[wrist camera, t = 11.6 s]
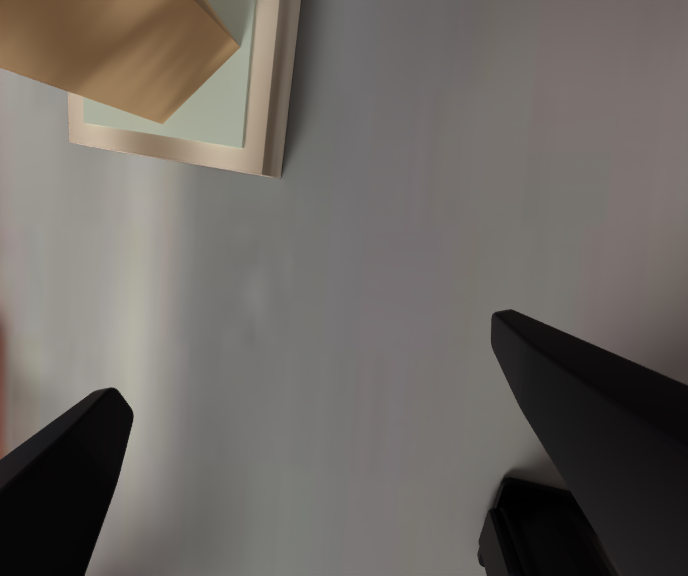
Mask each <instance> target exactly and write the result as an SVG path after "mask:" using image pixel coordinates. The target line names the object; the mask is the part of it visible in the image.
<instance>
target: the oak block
mask: <svg viewBox="0 0 688 576" xmlns="http://www.w3.org/2000/svg"><path fill="white" fill-rule="evenodd" d="M239 48H240V46H239V45H238V44H237V42H236V41H235V39H234V38H233V36H232V35H231V34H230V32H229V31H228V29H227V28H226V26H225V25H224V24H223V22H222V21H221V19H220V18H219V17H218V15H217V14H216V12H215V11H214V9H213V8H212V7H211V5H210V4H209V2H208V1H207V0H0V68H3V69H5V70H8V71H11V72H14V73H17V74H20V75H23V76H25V77H28V78H31V79H34V80H37V81H40V82H43V83H45V84H48V85H51V86H54V87H57V88H60V89H63V90H65V91H68V92H71V93H74V94H77V95H80V96H83V97H85V98H88V99H91V100H94V101H97V102H100V103H103V104H105V105H108V106H111V107H114V108H117V109H120V110H123V111H125V112H128V113H131V114H134V115H137V116H140V117H143V118H145V119H148V120H151V121H154V122H157V123H160V124H163V123H164V122H165V121H166V120H167V119H168V118H169V117H170V116H171V115H172V114H173V113H174V112H175V111H176V110H177V109H178V108H179V107H180V106H181V105H182V104H183V103H185V102H186V101H187V100H188V99H189V98H190V97H191V96H192V95H193V94H194V93H195V92H196V91H197V90H198V89H199V88H200V87H201V86H202V85H203V84H204V83H205V82H206V81H207V80H208V79H209V78H210V77H211V76H212V75H213V74H214V73H215V72H216V71H217V70H218V69H219V68H220V67H221V66H222V65H223V64H224V63H225V62H226V61H227V60H228V59H229V58H230V57H231V56H232V55H233V54H234V53H235V52H236V51H237V50H238V49H239Z"/></svg>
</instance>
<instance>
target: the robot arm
mask: <svg viewBox="0 0 688 576" xmlns="http://www.w3.org/2000/svg"><path fill="white" fill-rule="evenodd" d="M491 345H492V348H493V351H494V353H495V355H496V358H497V360H498V362H499V364H500V366H501V368H502V370H503V373H504V375H505V377H506V379H507V381H508V383H509V386H510V388H511V390H512V392H513V394H514V396H515V398H516V400H517V402H518V404H519V406H520V408H521V410H522V412H523V414H524V415H525V417H526V419H527V420H528V422H529V424H530V425H531V427H532V429H533V430H534V432H535V433H536V435H537V437H538V438H539V440H540V442H541V443H542V445H543V447H544V448H545V450H546V452H547V453H548V455H549V456H550V458H551V460H552V461H553V463H554V465H555V466H556V468H557V470H558V471H559V473H560V474H561V476H562V478H563V479H564V481H565V483H566V484H567V486H568V488H569V489H570V491H571V492H569V491H565V490H561V489H556V488H552V487H548V486H544V485H540V484H535V483H531V482H527V481H523V480H519V479H514V478H505V479H504V480H502V482H501V484H500V487H499V490H498V493H497V496H496V499H495V502H494V505H493V508H491V509H490V510H489V511H488V513H487V516H486V519H485V523H484V526H483V529H482V532H481V535H480V538H479V545H480V548H479V551H478V555H477V556H478V560H479V563H480V565H481V566H483V567H485V570H486V574H487V576H688V385H686V384H683V383H681V382H679V381H676V380H674V379H672V378H669V377H667V376H665V375H662V374H660V373H658V372H655V371H653V370H651V369H649V368H646V367H644V366H642V365H639V364H637V363H635V362H632V361H630V360H628V359H625V358H623V357H621V356H618V355H616V354H614V353H612V352H609V351H607V350H605V349H602V348H600V347H598V346H595V345H593V344H591V343H588V342H586V341H584V340H581V339H579V338H577V337H575V336H572V335H570V334H568V333H565V332H563V331H561V330H558V329H556V328H554V327H551V326H549V325H547V324H544V323H542V322H540V321H538V320H535V319H533V318H531V317H528V316H526V315H524V314H521V313H519V312H517V311H514V310H511V309H509V310H503V311H498V312H495V313H494V314H493V315H492V319H491ZM133 417H134V416H133V411H132V409H131V407H130V406H129V405H128V403H127V402H126V400H125V399H124V398H123V396H122V395H121V393H120V392H119V391H118V390H117V389H115V388H112V387H110V388H105V389H100V390H96V391H94V392H92V393H91V394H89V395H88V396H87V397H85V398H84V399H83V400H81V401H80V402H79V403H77V404H76V405H74V406H73V407H72V408H70V409H69V410H68V411H66V412H65V413H64V414H62V415H61V416H59V417H58V418H57V419H55V420H54V421H53V422H51V423H50V424H48V425H47V426H46V427H44V428H43V429H42V430H40V431H39V432H38V433H36V434H35V435H33V436H32V437H31V438H29V439H28V440H27V441H25V442H24V443H23V444H21V445H20V446H18V447H17V448H16V449H14V450H13V451H12V452H10V453H9V454H8V455H6V456H5V457H3V458H2V459H1V460H0V576H85V573H86V570H87V567H88V564H89V562H90V559H91V556H92V553H93V550H94V548H95V545H96V542H97V539H98V536H99V534H100V531H101V528H102V525H103V522H104V519H105V517H106V514H107V511H108V508H109V505H110V503H111V500H112V497H113V494H114V491H115V488H116V485H117V482H118V478H119V475H120V471H121V467H122V463H123V459H124V455H125V451H126V447H127V443H128V439H129V435H130V431H131V427H132V423H133ZM510 486H513V488H508V487H510Z"/></svg>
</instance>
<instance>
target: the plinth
mask: <svg viewBox="0 0 688 576" xmlns="http://www.w3.org/2000/svg"><path fill="white" fill-rule="evenodd" d="M207 1H208V2H209V4H210V5H211V7H212V8H213V9H214V11H215V12H216V14H217V15H218V17H219V18H220V19H221V21H222V22H223V24H224V25H225V26H226V28H227V29H228V31H229V32H230V34H231V35H232V36H233V38H234V39H235V41H236V42H237V44H238V45H239V46H240V48H239V49H238V50H237V51H236V52H235V53H234V54H233V55H232V56H231V57H230V58H229V59H228V60H227V61H226V62H225V63H224V64H223V65H222V66H221V67H220V68H219V69H218V70H217V71H216V72H215V73H214V74H213V75H212V76H211V77H210V78H209V79H208V80H207V81H206V82H205V83H204V84H203V85H202V86H201V87H200V88H199V89H198V90H197V91H196V92H195V93H194V94H193V95H192V96H191V97H190V98H189V99H188V100H187V101H186V102H185V103H183V104H182V105H181V106H180V107H179V108H178V109H177V110H176V111H175V112H174V113H173V114H172V115H171V116H170V117H169V118H168V119H167V120H166V121H165V122H164V123H163V124H160V123H157V122H154V121H151V120H148V119H145V118H143V117H140V116H137V115H134V114H131V113H128V112H125V111H123V110H120V109H117V108H114V107H111V106H108V105H105V104H103V103H100V102H97V101H94V100H91V99H88V98H85V97H83V96H80V95H77V94H74V93H71V92H68V111H69V142H70V143H75V144H81V145H86V146H91V147H96V148H101V149H106V150H111V151H117V152H123V153H129V154H135V155H141V156H147V157H153V158H159V159H165V160H171V161H177V162H183V163H189V164H195V165H201V166H207V167H212V168H218V169H224V170H230V171H236V172H242V173H248V174H254V175H260V176H266V177H272V178H278V179H281V171H282V162H283V153H284V145H285V136H286V127H287V118H288V110H289V101H290V92H291V83H292V75H293V66H294V57H295V48H296V40H297V31H298V22H299V13H300V5H301V0H207Z"/></svg>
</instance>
